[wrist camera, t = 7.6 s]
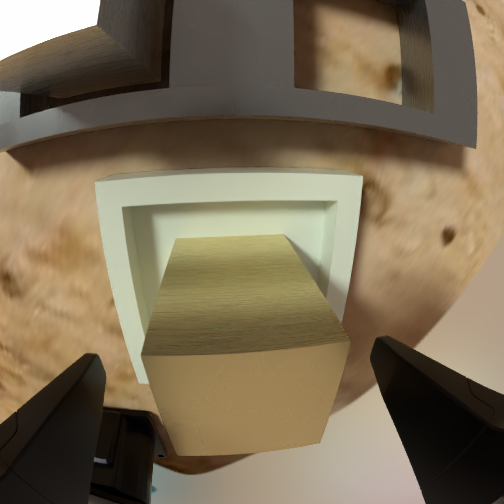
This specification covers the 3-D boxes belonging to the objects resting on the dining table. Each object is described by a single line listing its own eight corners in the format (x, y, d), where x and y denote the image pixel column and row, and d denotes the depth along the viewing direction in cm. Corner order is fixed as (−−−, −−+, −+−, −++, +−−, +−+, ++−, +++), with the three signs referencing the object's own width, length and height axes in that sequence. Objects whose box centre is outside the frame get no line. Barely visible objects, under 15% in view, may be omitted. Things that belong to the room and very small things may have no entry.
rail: (444, 143, 12) (475, 148, 10) (5, 151, 10) (-26, 158, 7) (437, 11, 9) (465, 2, 7) (17, 9, 6) (-7, -3, 4)
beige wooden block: (283, 234, 12) (351, 340, 6) (279, 321, 14) (319, 442, 8) (175, 238, 12) (140, 355, 5) (186, 327, 14) (177, 455, 7)
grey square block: (160, 81, 10) (96, 24, 3) (63, 98, 9) (-51, 89, 3) (166, -8, 8) (132, -107, 2) (72, 12, 8) (-13, -44, 1)
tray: (320, 350, 16) (330, 371, 14) (144, 360, 15) (139, 383, 13) (344, 169, 12) (363, 176, 10) (110, 174, 11) (94, 182, 9)
